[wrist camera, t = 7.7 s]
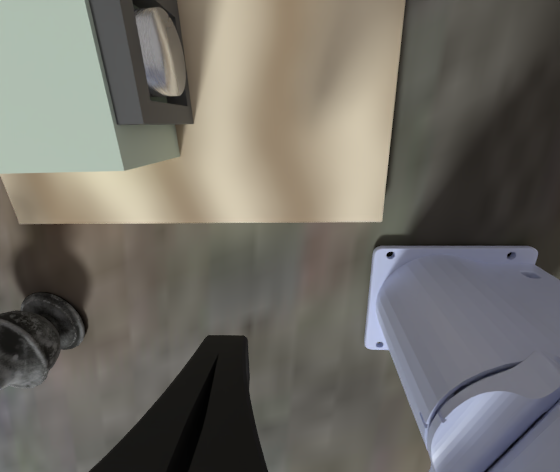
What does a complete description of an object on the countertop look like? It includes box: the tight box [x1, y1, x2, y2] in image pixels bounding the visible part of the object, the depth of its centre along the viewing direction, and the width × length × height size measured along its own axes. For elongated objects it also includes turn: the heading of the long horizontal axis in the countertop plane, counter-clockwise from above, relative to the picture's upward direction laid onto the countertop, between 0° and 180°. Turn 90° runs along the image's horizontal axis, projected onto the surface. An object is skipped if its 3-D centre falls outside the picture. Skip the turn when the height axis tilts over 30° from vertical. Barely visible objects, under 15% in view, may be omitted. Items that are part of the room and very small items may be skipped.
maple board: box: [0, 0, 405, 224], centre depth 14 cm, size 22×16×2 cm
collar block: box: [0, 0, 194, 174], centre depth 12 cm, size 9×8×5 cm
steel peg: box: [134, 7, 186, 97], centre depth 12 cm, size 9×3×3 cm, turn 92°
